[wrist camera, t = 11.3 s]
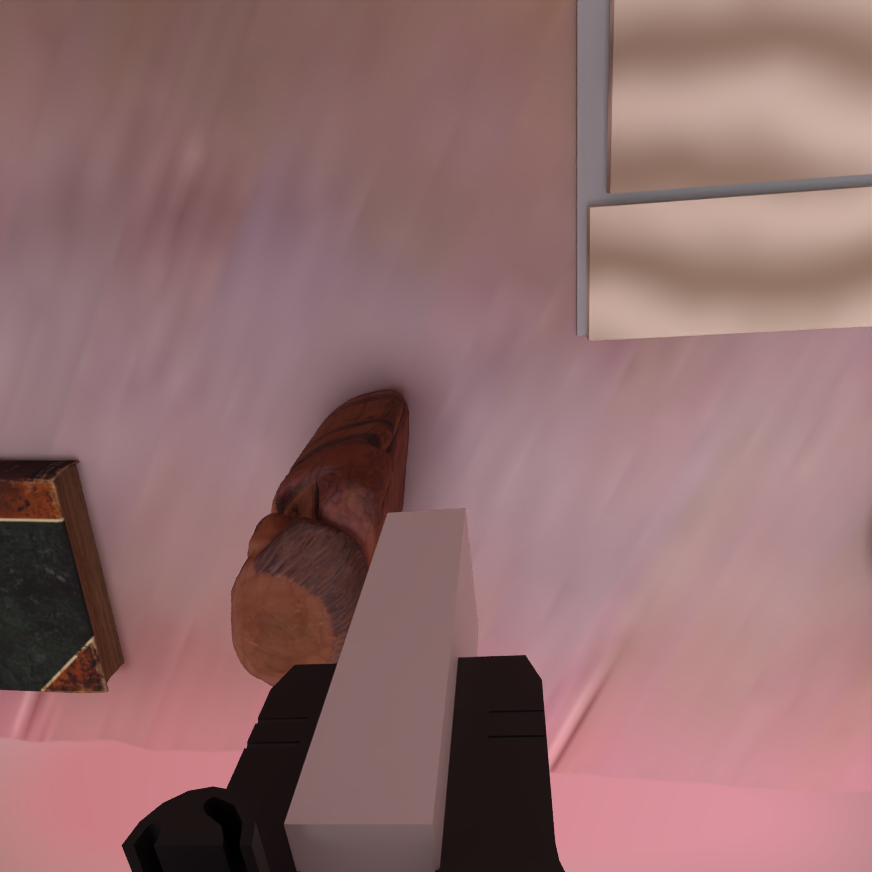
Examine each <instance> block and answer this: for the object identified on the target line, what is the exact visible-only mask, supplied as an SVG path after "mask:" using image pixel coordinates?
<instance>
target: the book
mask: <svg viewBox="0 0 872 872" xmlns="http://www.w3.org/2000/svg"><path fill="white" fill-rule="evenodd" d="M76 463H79V461H0V690H19V691H42V692H64V693H104V692H108V691H109V690H108V686H107V682H108V680H109V679H110V677H111V676H112V675H113V674H114V673H115V672H116V671H117V670H118V668H119V667H120V666H121V665H122V664H123V663H124V660H123V656H122V652H121V648H120V643H119V639H118V635H117V631H116V627H115V623H114V619H113V615H112V610H111V606H110V602H109V598H108V594H107V590H106V586H105V582H104V577H103V573H102V569H101V565H100V561H99V557H98V553H97V548H96V544H95V540H94V536H93V532H92V528H91V524H90V520H89V516H88V512H87V508H86V503H85V499H84V495H83V491H82V487H81V483H80V479H79V475H78V471H77V467H76V465H73V464H76Z"/></svg>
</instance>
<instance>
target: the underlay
mask: <svg viewBox="0 0 872 872" xmlns="http://www.w3.org/2000/svg"><path fill="white" fill-rule="evenodd" d="M609 25H610V0H577V336H584V335H586V276H587V207H589V206H602V205H616V204H629V203H643V202H656V201H670V200H683V199H697V198H710V197H723V196H737V195H750V194H764V193H777V192H791V191H804V190H818V189H831V188H845V187H858V186H871V185H872V174H864V175H851V176H838V177H825V178H812V179H798V180H785V181H772V182H759V183H746V184H733V185H720V186H707V187H693V188H680V189H667V190H654V191H641V192H628V193H615V194H609V193H606V182H607V129H608V77H609Z"/></svg>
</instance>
